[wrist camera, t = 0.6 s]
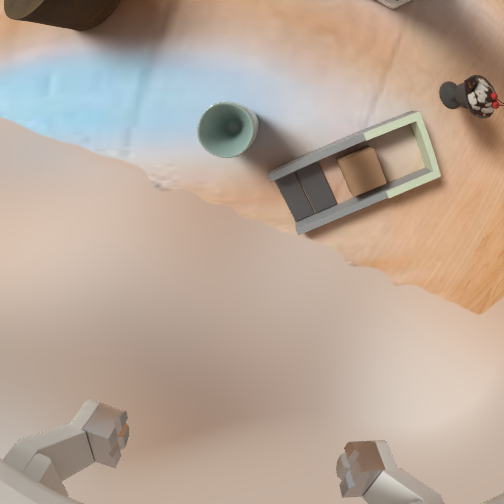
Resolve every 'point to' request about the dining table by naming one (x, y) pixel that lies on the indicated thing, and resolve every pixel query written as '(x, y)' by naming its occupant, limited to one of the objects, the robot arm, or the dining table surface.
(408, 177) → the box
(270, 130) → the dining table surface
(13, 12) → the wooden container
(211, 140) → the cup
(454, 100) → the sundae
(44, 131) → the dining table surface
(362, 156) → the block
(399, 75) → the dining table surface
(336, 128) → the dining table surface
